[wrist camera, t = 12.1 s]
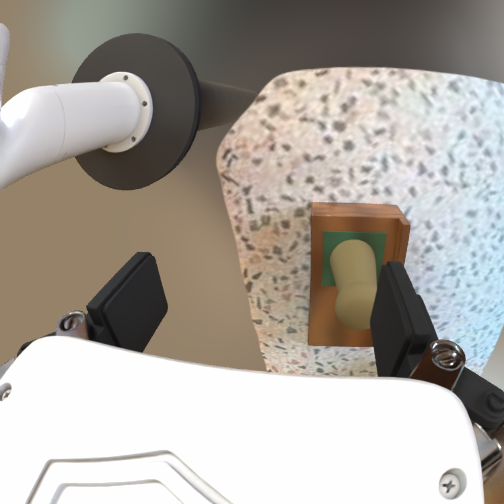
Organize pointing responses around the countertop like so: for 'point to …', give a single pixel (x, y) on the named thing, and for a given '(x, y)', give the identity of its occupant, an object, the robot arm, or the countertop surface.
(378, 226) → the wooden shelf
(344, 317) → the cork
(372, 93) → the countertop surface
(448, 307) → the countertop surface
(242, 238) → the countertop surface
